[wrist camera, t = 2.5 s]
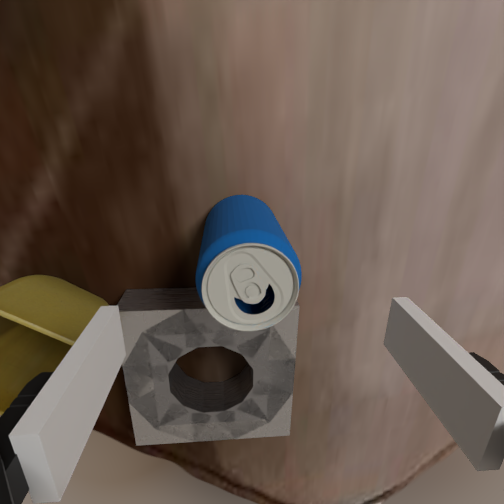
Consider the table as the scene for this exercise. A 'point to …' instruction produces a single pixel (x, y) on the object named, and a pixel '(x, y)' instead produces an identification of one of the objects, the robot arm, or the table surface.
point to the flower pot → (39, 328)
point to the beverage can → (246, 266)
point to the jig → (194, 391)
